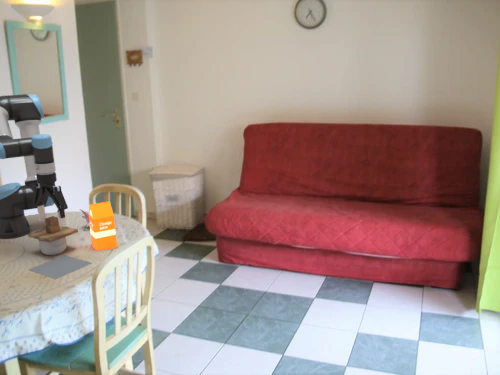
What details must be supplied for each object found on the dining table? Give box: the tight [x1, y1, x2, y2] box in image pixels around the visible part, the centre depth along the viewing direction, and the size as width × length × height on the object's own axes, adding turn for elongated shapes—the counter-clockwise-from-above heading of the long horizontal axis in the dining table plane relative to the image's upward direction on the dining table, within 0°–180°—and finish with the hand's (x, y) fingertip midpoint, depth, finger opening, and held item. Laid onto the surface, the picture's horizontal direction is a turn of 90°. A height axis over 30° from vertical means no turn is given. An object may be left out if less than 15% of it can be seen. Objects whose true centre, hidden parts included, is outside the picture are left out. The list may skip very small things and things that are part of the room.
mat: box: [27, 254, 93, 280], centre depth 197 cm, size 17×17×1 cm
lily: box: [79, 209, 89, 232], centre depth 241 cm, size 12×12×10 cm
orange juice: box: [88, 200, 118, 251], centre depth 215 cm, size 8×9×20 cm
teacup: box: [37, 236, 68, 256], centre depth 213 cm, size 14×11×8 cm
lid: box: [27, 215, 79, 242], centre depth 211 cm, size 14×14×7 cm
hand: (52, 222), depth 210 cm, fingers open, 12 cm apart
